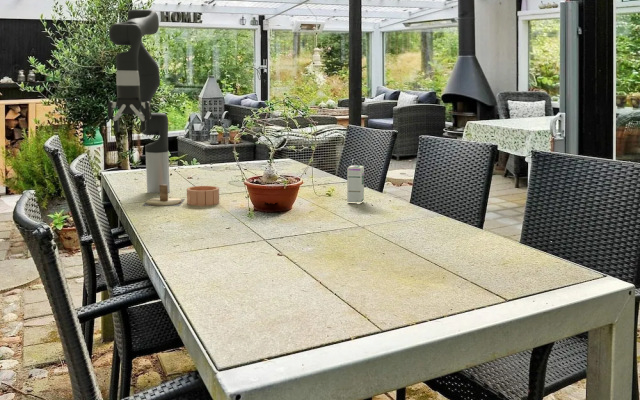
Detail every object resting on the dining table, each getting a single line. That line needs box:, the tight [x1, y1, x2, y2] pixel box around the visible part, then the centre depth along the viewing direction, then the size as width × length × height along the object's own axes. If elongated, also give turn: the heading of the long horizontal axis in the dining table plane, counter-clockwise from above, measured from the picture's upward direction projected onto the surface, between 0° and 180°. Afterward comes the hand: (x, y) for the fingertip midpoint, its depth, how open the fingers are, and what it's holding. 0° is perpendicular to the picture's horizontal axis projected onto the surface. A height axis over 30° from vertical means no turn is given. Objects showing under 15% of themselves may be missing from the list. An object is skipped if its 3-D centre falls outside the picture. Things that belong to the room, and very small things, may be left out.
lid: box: [146, 184, 182, 207], centre depth 247 cm, size 13×13×7 cm
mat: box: [141, 198, 186, 207], centre depth 248 cm, size 14×14×1 cm
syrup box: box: [346, 165, 365, 202], centre depth 252 cm, size 6×6×14 cm
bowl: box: [186, 185, 220, 207], centre depth 248 cm, size 12×12×6 cm
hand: (130, 132), depth 223 cm, fingers open, 8 cm apart
